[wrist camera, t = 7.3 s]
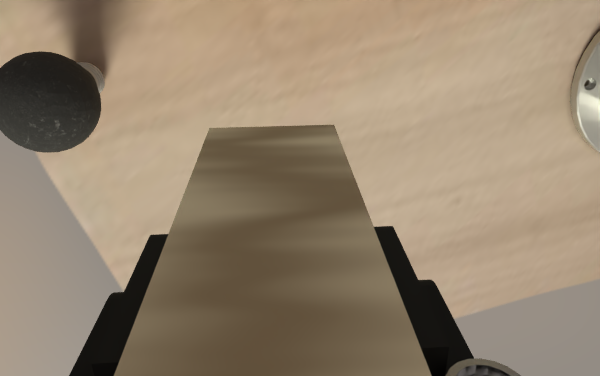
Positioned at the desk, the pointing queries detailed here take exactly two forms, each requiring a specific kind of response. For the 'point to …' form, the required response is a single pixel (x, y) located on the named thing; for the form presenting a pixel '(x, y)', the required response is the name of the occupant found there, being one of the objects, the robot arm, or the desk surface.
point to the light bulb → (49, 101)
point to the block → (272, 269)
